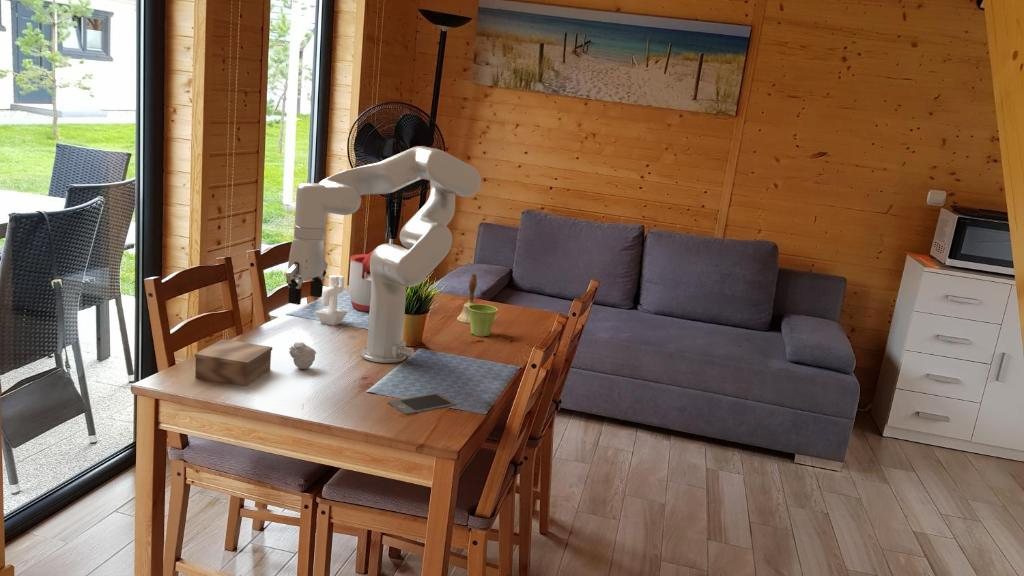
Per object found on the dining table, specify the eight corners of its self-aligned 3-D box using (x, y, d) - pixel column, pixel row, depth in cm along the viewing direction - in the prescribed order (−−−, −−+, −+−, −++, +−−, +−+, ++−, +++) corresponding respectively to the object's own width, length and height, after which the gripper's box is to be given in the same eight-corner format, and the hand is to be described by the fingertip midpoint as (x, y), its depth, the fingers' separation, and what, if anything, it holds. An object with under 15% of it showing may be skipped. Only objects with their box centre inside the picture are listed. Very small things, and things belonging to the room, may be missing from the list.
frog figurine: (285, 365, 211) (286, 339, 210) (312, 364, 214) (314, 338, 213) (290, 373, 206) (292, 347, 204) (318, 371, 209) (320, 345, 208)
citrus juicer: (343, 313, 265) (347, 253, 260) (348, 300, 282) (353, 243, 277) (391, 317, 267) (396, 257, 262) (394, 304, 283) (399, 247, 279)
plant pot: (494, 340, 255) (497, 313, 253) (464, 336, 255) (467, 309, 253) (495, 331, 264) (498, 306, 262) (466, 328, 264) (469, 302, 262)
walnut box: (271, 369, 207) (272, 347, 206) (246, 386, 194) (247, 362, 193) (221, 361, 209) (222, 339, 207) (193, 377, 196) (194, 353, 194)
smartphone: (438, 394, 204) (438, 392, 204) (457, 406, 198) (457, 403, 198) (386, 404, 194) (386, 401, 194) (405, 416, 188) (405, 413, 188)
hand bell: (454, 316, 277) (458, 270, 273) (477, 317, 279) (482, 271, 276) (459, 323, 269) (464, 276, 265) (484, 324, 272) (489, 277, 268)
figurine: (312, 323, 250) (315, 276, 246) (329, 317, 258) (332, 271, 255) (332, 328, 247) (336, 280, 244) (349, 321, 256) (352, 275, 253)
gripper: (315, 227, 212) (311, 291, 215) (276, 234, 195) (272, 303, 199) (341, 232, 209) (336, 296, 213) (303, 239, 193) (298, 309, 197)
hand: (305, 300), depth 206 cm, fingers open, 9 cm apart
